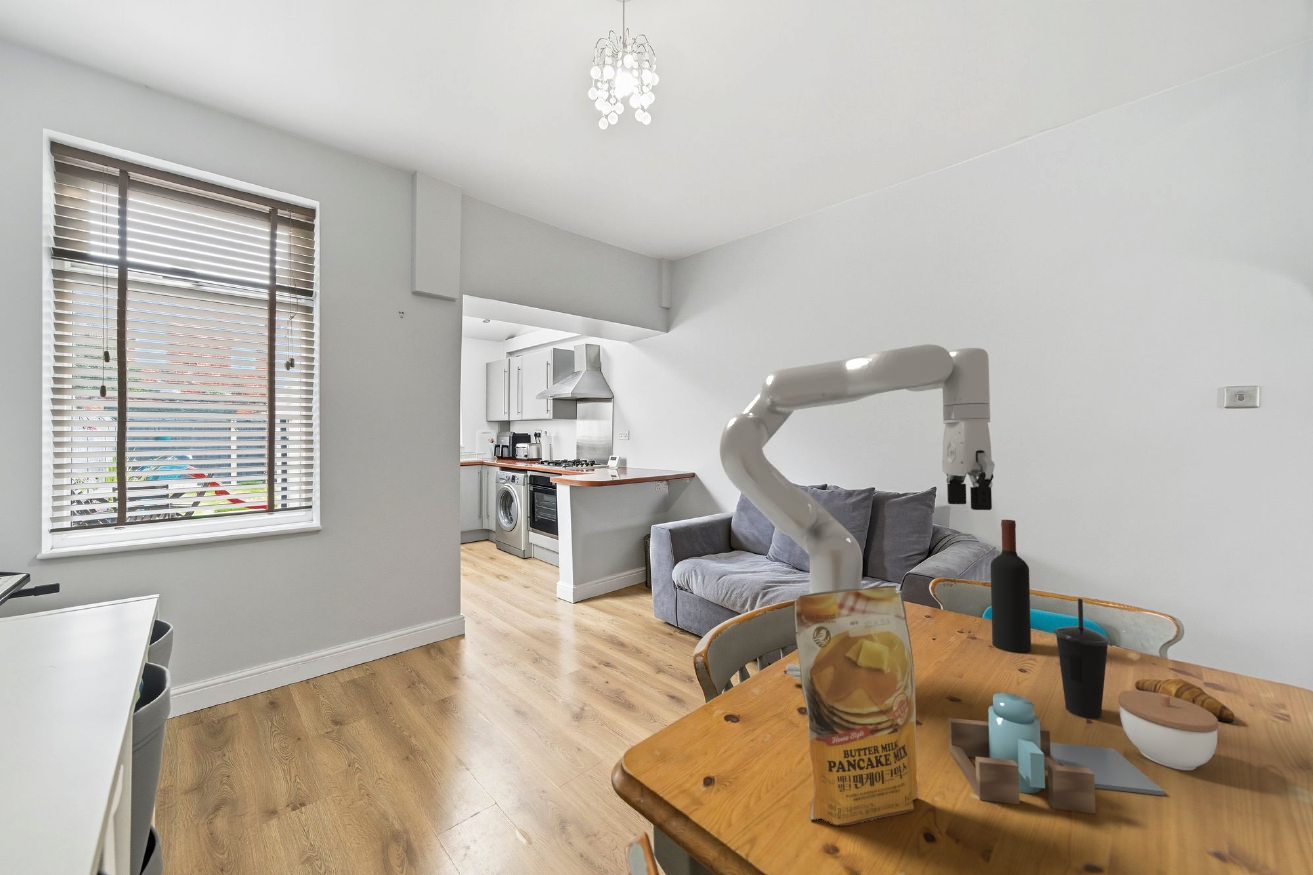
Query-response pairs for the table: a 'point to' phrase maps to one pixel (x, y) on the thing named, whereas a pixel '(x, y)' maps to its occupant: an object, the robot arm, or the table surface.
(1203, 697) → the croissant
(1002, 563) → the wine bottle
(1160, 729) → the lidded jar
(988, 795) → the cradle
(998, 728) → the jug
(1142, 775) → the coaster
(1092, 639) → the drinking cup
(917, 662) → the table surface
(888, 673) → the pancake mix bag
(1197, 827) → the table surface
